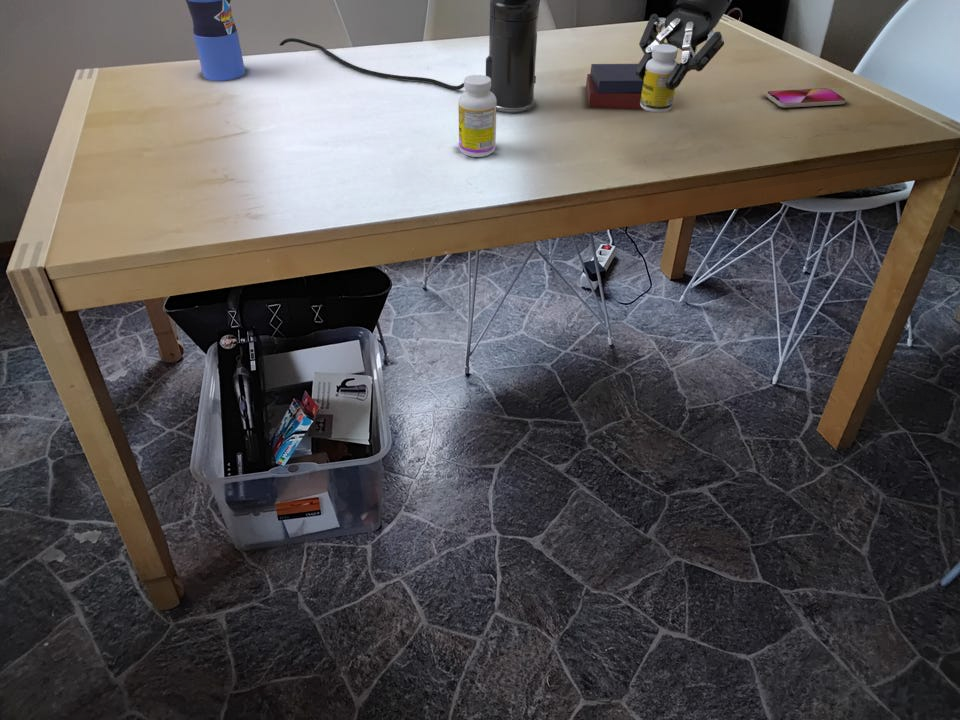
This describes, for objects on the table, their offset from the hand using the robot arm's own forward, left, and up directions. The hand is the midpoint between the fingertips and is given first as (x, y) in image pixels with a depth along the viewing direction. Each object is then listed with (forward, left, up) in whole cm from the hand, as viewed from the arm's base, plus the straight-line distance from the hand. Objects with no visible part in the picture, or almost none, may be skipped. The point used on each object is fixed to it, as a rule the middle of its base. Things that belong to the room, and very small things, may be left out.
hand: (654, 81), depth 120 cm
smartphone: (+29, +40, -14) cm, 52 cm away
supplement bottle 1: (-29, -5, -14) cm, 33 cm away
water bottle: (-94, +15, -14) cm, 96 cm away
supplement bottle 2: (+1, +2, -5) cm, 5 cm away
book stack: (-7, +29, -14) cm, 33 cm away
